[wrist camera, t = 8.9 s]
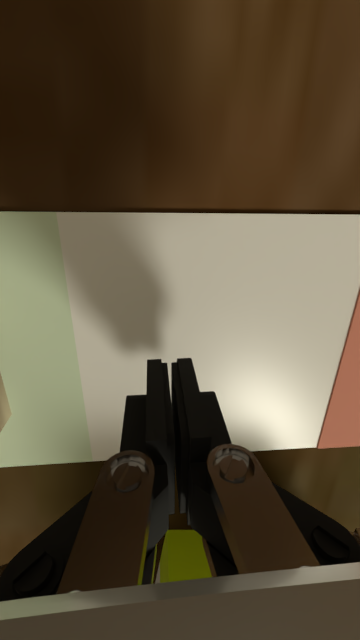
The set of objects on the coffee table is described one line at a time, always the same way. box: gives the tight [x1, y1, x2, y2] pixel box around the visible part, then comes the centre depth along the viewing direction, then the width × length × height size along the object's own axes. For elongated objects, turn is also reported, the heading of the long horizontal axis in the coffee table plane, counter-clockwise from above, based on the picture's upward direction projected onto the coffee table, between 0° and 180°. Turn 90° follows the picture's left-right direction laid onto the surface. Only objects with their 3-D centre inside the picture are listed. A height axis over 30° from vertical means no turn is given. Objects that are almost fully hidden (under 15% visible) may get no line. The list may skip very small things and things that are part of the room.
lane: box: [0, 211, 360, 467], centre depth 13 cm, size 12×24×1 cm, turn 89°
